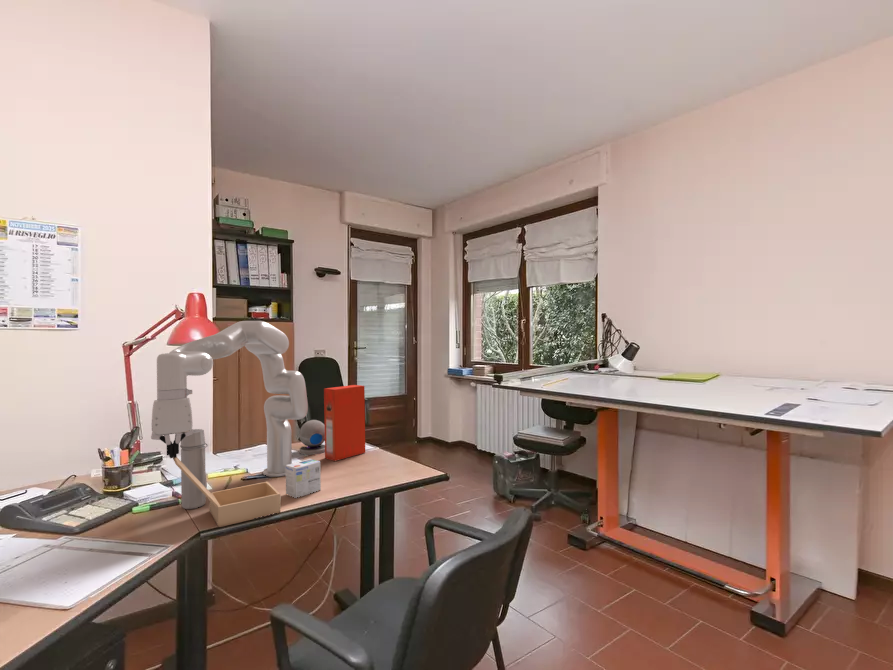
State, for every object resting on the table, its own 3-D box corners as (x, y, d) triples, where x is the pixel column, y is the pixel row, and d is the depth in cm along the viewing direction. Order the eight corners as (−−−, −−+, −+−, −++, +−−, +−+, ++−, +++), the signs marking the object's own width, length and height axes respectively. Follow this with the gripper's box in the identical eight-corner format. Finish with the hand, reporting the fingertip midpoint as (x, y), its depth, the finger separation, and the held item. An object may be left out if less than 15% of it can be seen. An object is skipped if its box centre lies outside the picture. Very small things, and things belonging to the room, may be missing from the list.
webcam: (323, 446, 228) (323, 416, 228) (330, 452, 217) (330, 421, 216) (297, 449, 221) (296, 419, 221) (302, 456, 210) (302, 423, 210)
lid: (209, 491, 146) (207, 493, 146) (171, 451, 140) (170, 453, 139) (218, 506, 134) (216, 507, 134) (177, 462, 128) (175, 464, 127)
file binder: (324, 458, 206) (324, 388, 206) (354, 450, 220) (353, 384, 219) (335, 461, 201) (335, 389, 201) (365, 453, 215) (364, 385, 214)
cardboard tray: (209, 511, 146) (209, 492, 146) (267, 498, 157) (267, 481, 157) (218, 527, 134) (218, 507, 134) (280, 512, 145) (280, 493, 145)
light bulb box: (310, 486, 169) (310, 457, 169) (321, 490, 165) (321, 461, 164) (284, 494, 161) (284, 464, 160) (295, 499, 156) (295, 468, 156)
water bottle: (175, 508, 148) (174, 432, 148) (196, 500, 156) (195, 428, 155) (195, 512, 145) (194, 435, 145) (216, 503, 152) (215, 430, 152)
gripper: (198, 391, 141) (199, 450, 141) (141, 395, 132) (141, 458, 132) (202, 394, 135) (203, 455, 135) (142, 398, 126) (143, 464, 126)
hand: (172, 456), depth 133 cm, fingers closed
